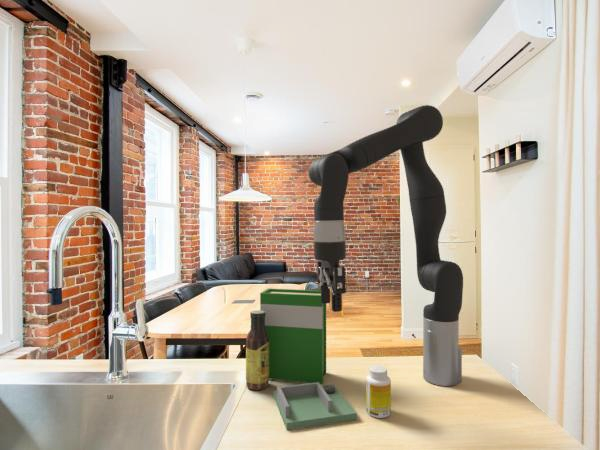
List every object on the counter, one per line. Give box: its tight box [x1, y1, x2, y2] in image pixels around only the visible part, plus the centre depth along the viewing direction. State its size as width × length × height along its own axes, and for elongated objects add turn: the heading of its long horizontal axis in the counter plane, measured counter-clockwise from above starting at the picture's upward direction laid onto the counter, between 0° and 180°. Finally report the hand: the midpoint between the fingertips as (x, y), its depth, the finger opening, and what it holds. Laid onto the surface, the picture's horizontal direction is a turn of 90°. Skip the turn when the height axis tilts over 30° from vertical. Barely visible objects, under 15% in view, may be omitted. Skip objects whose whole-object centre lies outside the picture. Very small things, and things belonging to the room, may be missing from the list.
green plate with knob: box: [273, 382, 358, 431], centre depth 88 cm, size 16×15×4 cm
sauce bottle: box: [245, 309, 270, 391], centre depth 99 cm, size 6×6×20 cm
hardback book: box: [259, 288, 327, 385], centre depth 106 cm, size 18×7×24 cm, turn 78°
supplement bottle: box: [365, 365, 392, 419], centre depth 85 cm, size 6×6×10 cm
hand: (331, 306), depth 89 cm, fingers open, 8 cm apart
